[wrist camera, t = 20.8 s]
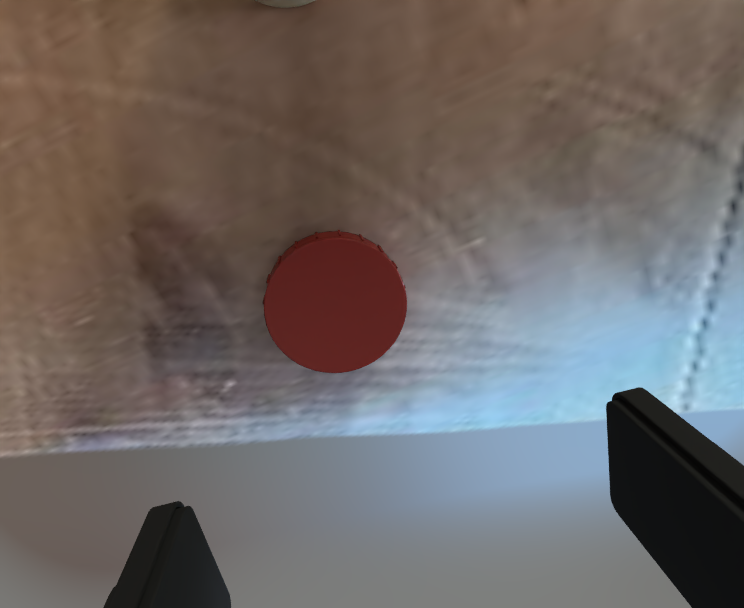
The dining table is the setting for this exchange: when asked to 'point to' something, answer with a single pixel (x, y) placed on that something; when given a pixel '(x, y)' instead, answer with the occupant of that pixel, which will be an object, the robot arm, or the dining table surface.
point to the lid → (334, 302)
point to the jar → (285, 3)
